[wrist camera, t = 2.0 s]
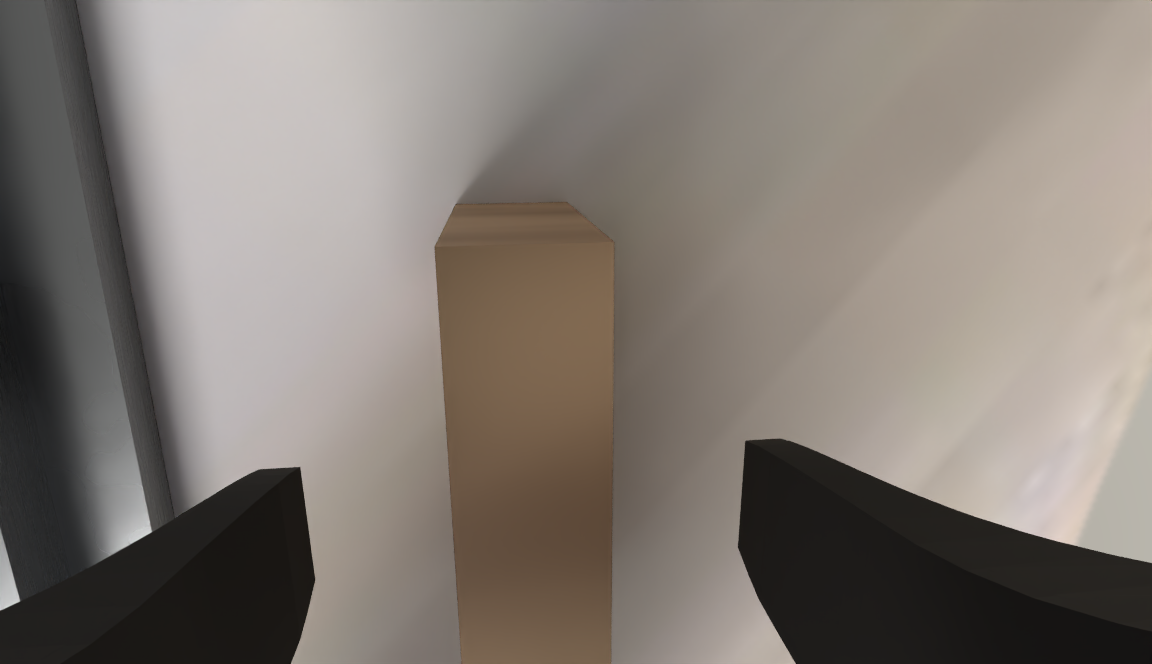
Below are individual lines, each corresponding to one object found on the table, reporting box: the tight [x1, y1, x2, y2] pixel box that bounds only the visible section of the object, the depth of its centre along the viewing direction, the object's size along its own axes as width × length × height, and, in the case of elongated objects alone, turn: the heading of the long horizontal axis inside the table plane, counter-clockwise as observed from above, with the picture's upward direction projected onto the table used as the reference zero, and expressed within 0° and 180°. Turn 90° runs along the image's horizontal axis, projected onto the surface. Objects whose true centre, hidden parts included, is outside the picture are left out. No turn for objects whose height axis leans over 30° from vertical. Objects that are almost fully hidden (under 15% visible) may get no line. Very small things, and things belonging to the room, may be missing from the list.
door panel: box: [435, 202, 614, 664], centre depth 13 cm, size 9×2×6 cm, turn 0°
